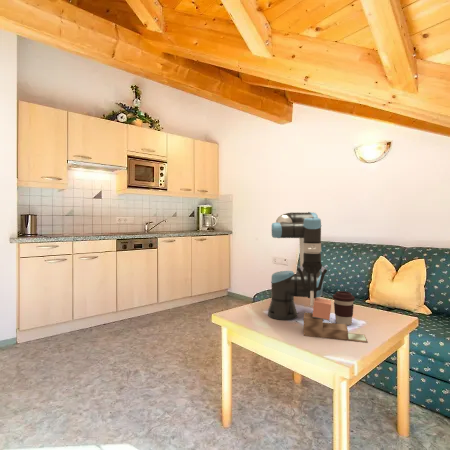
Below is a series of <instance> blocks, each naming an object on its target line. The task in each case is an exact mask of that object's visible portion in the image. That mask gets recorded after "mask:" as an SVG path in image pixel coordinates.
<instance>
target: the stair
mask: <svg viewBox="0 0 450 450" xmlns="http://www.w3.org/2000/svg"><path fill="white" fill-rule="evenodd" d="M312 316H313V312H304V313H303V336H304V337H312V338H322V339H329V340H330V339H331V340H338V341H339V340H340V341H349V342H356V343H367V344H368V339H367V336H366V334H361V333H354V332H349V330H348V327H347V326H348V325H346V324H337V323H333V322H324V320H323V319H318V318H313V317H312Z"/></svg>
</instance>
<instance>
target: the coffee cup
mask: <svg viewBox="0 0 450 450" xmlns="http://www.w3.org/2000/svg"><path fill="white" fill-rule="evenodd" d="M332 299H333V300H334V302H333V308H334V316H335V322H336V324H346V325H347V326H351V325H352V324H353V323H352V321H353V315H354V301H355V300H356V296H354V295H353V294H352V293H351V292H349V291H342V290H341V291H340V290H339V291H336V292H335V293H334V294H333V295H332Z"/></svg>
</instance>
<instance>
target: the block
mask: <svg viewBox="0 0 450 450" xmlns="http://www.w3.org/2000/svg"><path fill="white" fill-rule="evenodd" d="M312 308H313V310H312V313H313V316H312V317H313V318H318V319H323V321H330V318H331V311H332V301H331V300H329V299H325V298H321V297H318V298H316V299H314V306H313V307H312Z"/></svg>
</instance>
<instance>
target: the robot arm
mask: <svg viewBox="0 0 450 450" xmlns="http://www.w3.org/2000/svg"><path fill="white" fill-rule="evenodd" d="M271 236H272V238H274V239H276V238H277V239H299V240H298V241H299V263H300V264H299V265H300V266H298V267H297V273H295V272H294V270H282V271H276V272H273V273H272V275H271V280H270V283H271V292H270V293H271V294H270V295H271V301H270V304H269V307H268V311H267V314H268V315H267V316H268V317H270V318H272V319H273V320H274V319H275V320H279V321H280V320H283V321H289V320H290V321H291V320H295V319H297V318H298V310H297V307H296V304H295V299H294V297H297V298H298V297H299V298H307V299H310V300H309V301H310V302H309V305H310V307H314V299H316V298H321V297H322V295H323V290H324V289H323V288H324V279H325V275H326V273H327V272H328V268H325V267H324V266H323V264H322V254H321V252H322V219H321V218H320V217H318V214H317V213H316V212H312V211H308V212H286V213H283V214H281V215H280V216H278V217H277V218H276V221H275V222H272V223H271Z"/></svg>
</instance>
